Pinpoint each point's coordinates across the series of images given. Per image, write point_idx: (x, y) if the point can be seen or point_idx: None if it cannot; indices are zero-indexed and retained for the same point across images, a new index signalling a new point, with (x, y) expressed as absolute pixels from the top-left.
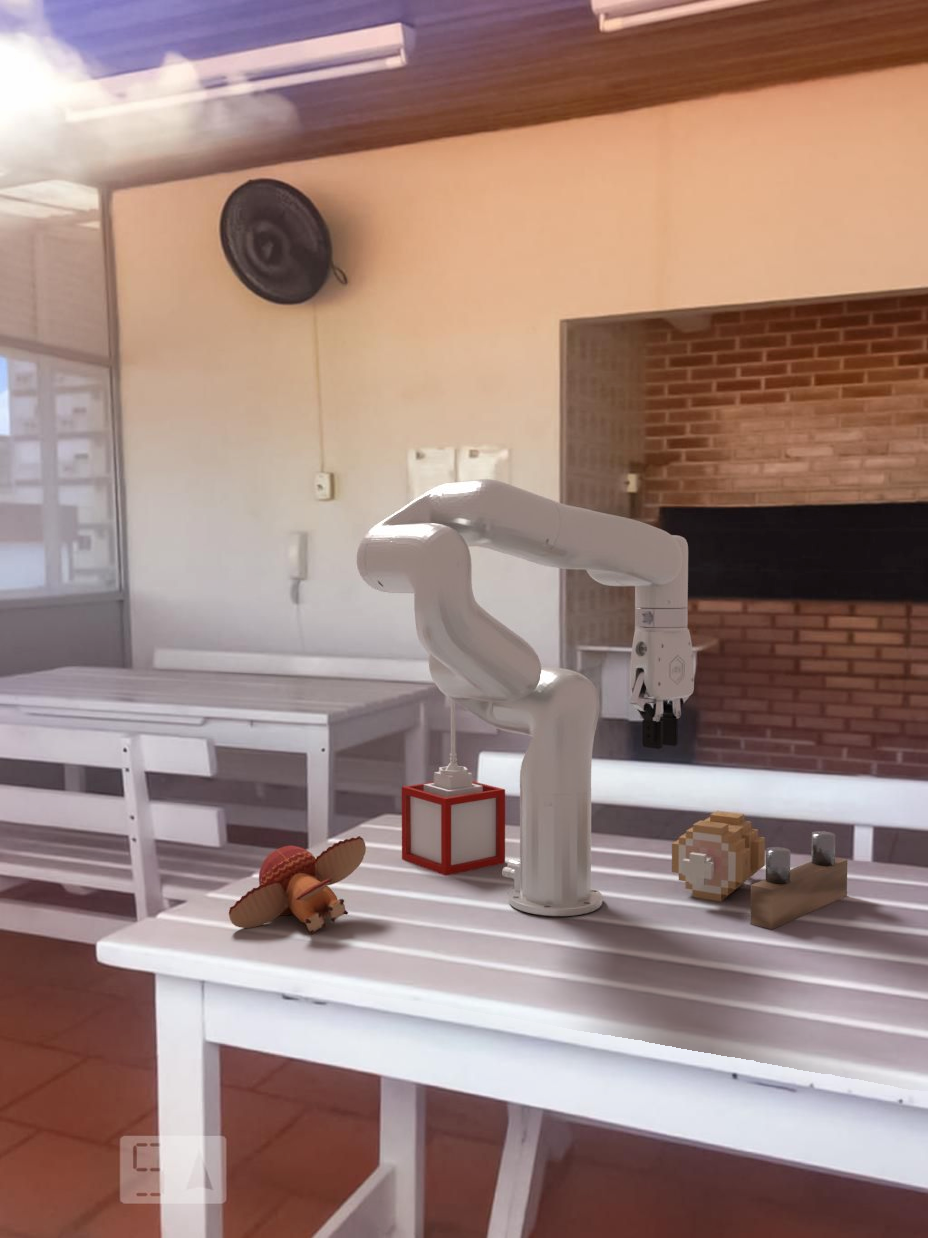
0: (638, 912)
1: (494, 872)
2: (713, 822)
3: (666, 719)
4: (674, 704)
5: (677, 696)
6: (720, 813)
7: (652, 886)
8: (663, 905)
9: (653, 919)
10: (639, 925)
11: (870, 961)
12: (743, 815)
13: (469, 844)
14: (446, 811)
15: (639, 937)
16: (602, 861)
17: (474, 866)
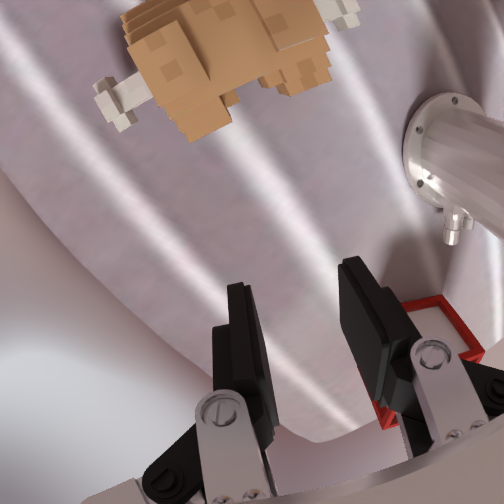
0: (404, 53)
1: (406, 283)
2: (268, 18)
3: (271, 402)
4: (262, 465)
5: (372, 488)
6: (174, 79)
7: (303, 121)
8: (358, 47)
9: (407, 23)
10: (433, 24)
11: None
12: (133, 44)
13: (421, 324)
14: (476, 341)
15: (455, 5)
16: (268, 262)
17: (411, 303)
